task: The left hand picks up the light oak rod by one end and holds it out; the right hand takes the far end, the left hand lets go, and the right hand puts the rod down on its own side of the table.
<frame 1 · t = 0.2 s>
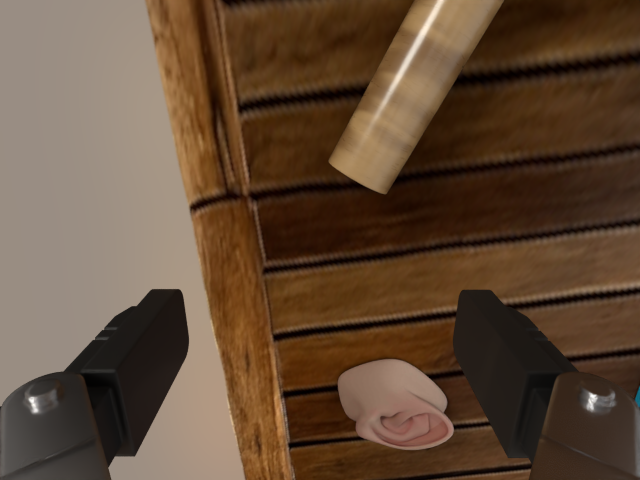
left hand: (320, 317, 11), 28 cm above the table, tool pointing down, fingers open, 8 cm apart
rod: (423, 48, 34), on the table
anatomical model: (389, 396, 48), on the table
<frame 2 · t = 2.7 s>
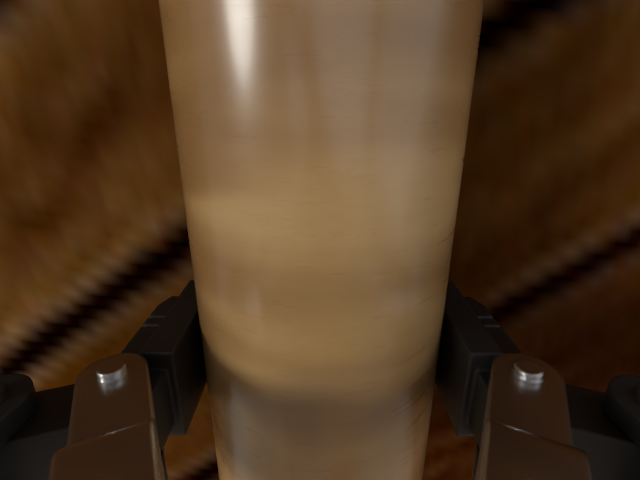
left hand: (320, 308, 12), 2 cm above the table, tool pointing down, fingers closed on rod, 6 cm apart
rod: (321, 15, 10), on the table, touching left hand
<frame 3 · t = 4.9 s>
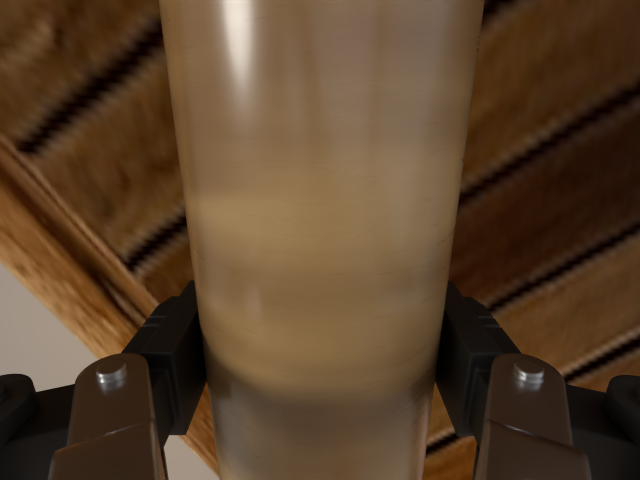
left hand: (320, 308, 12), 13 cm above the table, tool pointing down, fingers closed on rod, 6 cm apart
rod: (321, 15, 10), point 11 cm above the table, touching left hand
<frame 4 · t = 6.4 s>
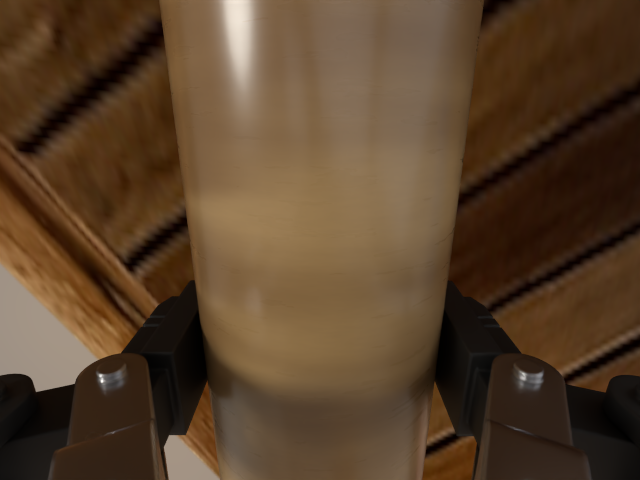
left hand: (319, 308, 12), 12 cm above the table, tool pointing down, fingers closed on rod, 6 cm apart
rod: (321, 16, 11), point 11 cm above the table, touching left hand, right hand
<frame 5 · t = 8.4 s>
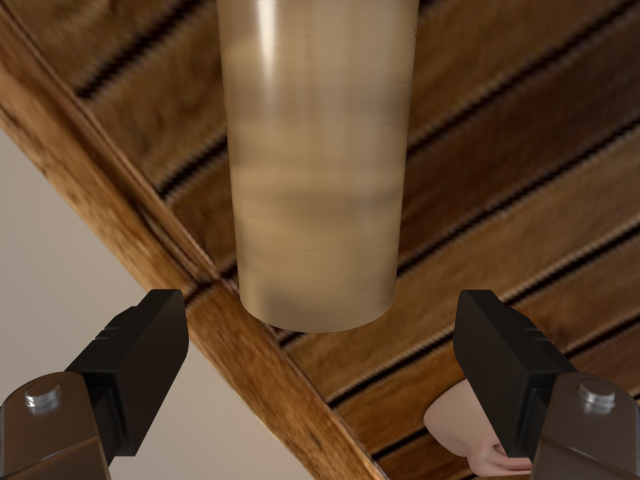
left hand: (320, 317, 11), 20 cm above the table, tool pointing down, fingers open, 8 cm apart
anatomical model: (493, 415, 38), on the table
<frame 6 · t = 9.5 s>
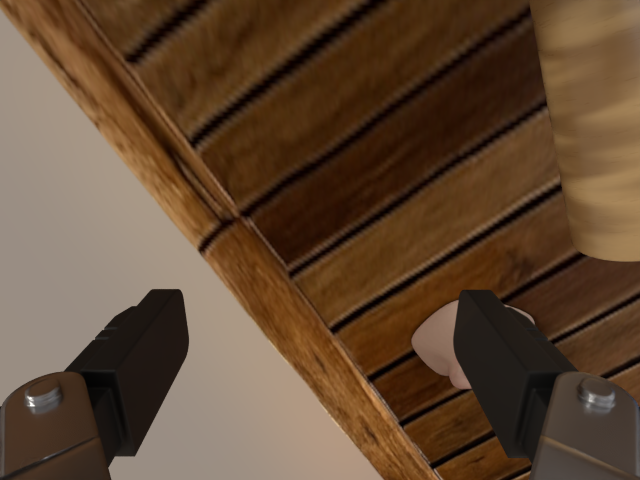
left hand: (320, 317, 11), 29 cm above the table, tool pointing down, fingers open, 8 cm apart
rod: (569, 27, 22), point 13 cm above the table, touching right hand
anatomical model: (471, 338, 45), on the table
when the right hand's fingers open (4 cm above the table, at t = 12.8 s): rod drops 4 cm, on the table.
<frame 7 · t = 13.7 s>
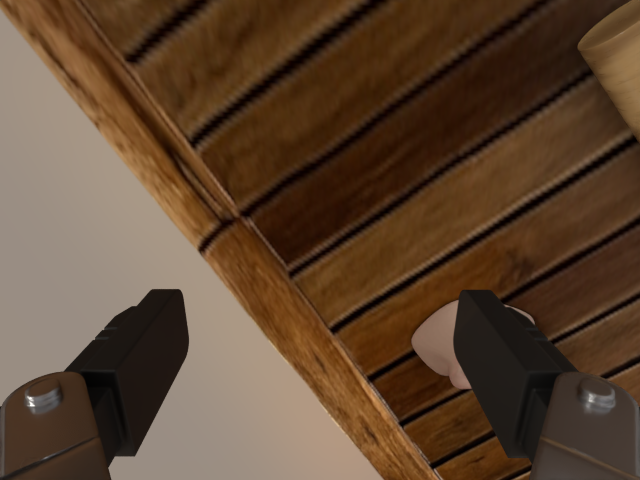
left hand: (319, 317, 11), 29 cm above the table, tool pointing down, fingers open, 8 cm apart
anatomical model: (471, 338, 45), on the table
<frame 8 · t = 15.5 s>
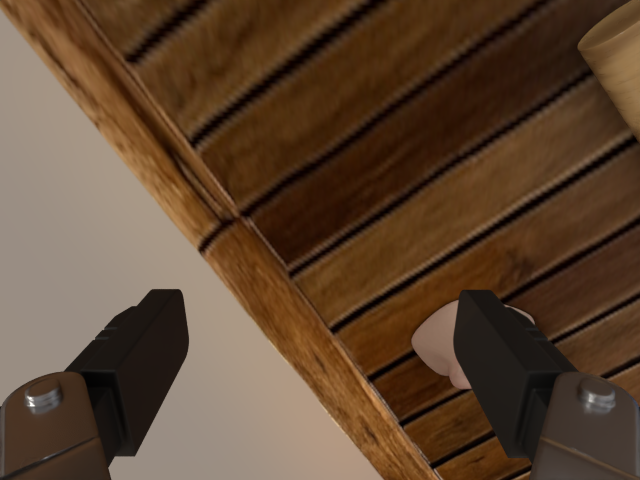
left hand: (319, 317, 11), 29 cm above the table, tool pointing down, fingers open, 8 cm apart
anatomical model: (471, 338, 45), on the table
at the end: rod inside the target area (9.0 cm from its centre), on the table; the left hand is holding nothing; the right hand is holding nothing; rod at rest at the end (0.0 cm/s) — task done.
